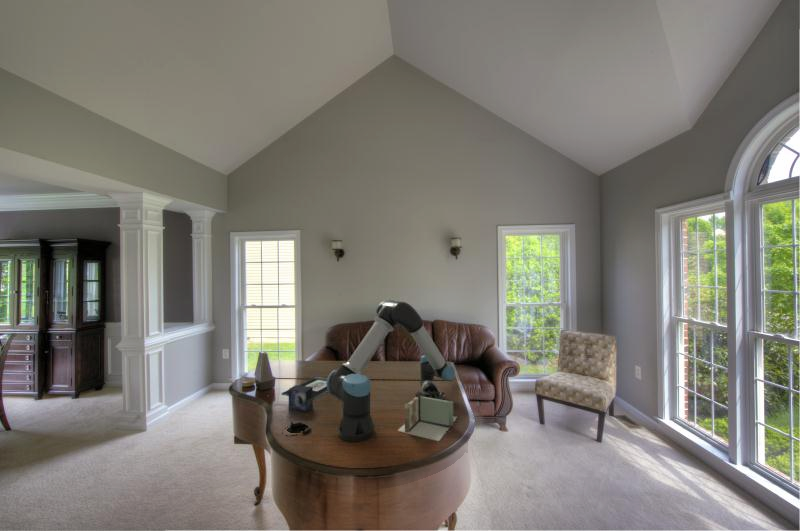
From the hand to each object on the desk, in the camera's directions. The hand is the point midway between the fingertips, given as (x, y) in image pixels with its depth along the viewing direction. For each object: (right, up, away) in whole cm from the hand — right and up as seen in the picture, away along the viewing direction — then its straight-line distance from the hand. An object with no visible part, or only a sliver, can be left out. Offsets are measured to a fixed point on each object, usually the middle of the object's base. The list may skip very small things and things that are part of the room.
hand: (437, 408), depth 148 cm
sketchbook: (-68, -9, +46) cm, 83 cm away
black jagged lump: (-62, -8, -6) cm, 63 cm away
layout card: (-4, -7, -1) cm, 8 cm away
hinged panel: (0, -5, -1) cm, 6 cm away
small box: (-67, -8, +17) cm, 70 cm away
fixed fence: (-11, -7, -3) cm, 13 cm away
